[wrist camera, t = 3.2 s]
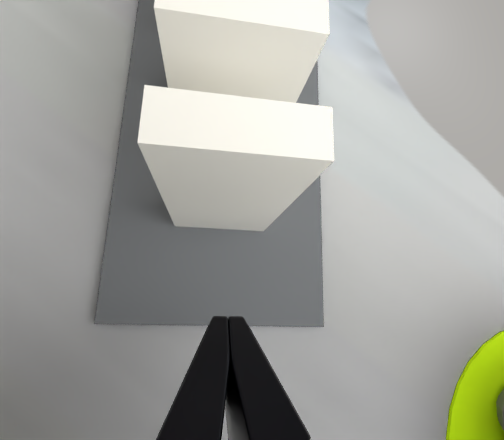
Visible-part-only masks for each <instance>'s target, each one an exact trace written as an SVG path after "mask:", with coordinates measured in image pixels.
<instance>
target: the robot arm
mask: <svg viewBox="0 0 504 440" xmlns="http://www.w3.org/2000/svg"><path fill="white" fill-rule="evenodd" d="M224 410H226V420H227V431H228V440H310V438H311V437H310V435H309V433H308V431H307V429H306V428H305V426H304V424H303V422H302V420H301V419H300V417H299V415H298V413H297V411H296V410H295V408H294V406H293V404H292V402H291V401H290V399H289V397H288V395H287V394H286V392H285V390H284V388H283V386H282V385H281V383H280V381H279V379H278V377H277V376H276V374H275V372H274V370H273V368H272V367H271V365H270V363H269V361H268V359H267V358H266V356H265V354H264V352H263V351H262V349H261V347H260V345H259V343H258V342H257V340H256V338H255V336H254V334H253V333H252V331H251V329H250V327H249V325H248V324H247V322H246V320H245V319H244V317H242V316H229V317H227V316H213V317H212V319H211V321H210V323H209V325H208V327H207V330H206V332H205V334H204V336H203V338H202V340H201V343H200V345H199V347H198V349H197V351H196V354H195V356H194V358H193V360H192V362H191V364H190V367H189V369H188V371H187V373H186V375H185V377H184V380H183V382H182V384H181V386H180V388H179V390H178V393H177V395H176V397H175V399H174V401H173V404H172V406H171V408H170V410H169V412H168V414H167V417H166V419H165V421H164V423H163V425H162V427H161V430H160V432H159V434H158V436H157V438H156V440H221V437H222V428H223V419H224Z"/></svg>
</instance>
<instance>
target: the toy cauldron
mask: <svg viewBox="0 0 504 440" xmlns="http://www.w3.org/2000/svg"><path fill="white" fill-rule="evenodd" d="M446 440H504V331H502V332H499V333H498V334H496V335H495V336H494V337H492V338H491V339H490V340H488V341H487V342H486V343H484V344H483V345H482V346H481V347H480V348H479V349H478V351H477V352H476V353H475V354H474V356H473V357H472V358H471V359H470V360H469V362H468V363H467V365H466V367H465V369H464V371H463V373H462V375H461V377H460V379H459V381H458V382H457V385H456V388H455V392H454V395H453V398H452V402H451V405H450V409H449V417H448V425H447V434H446Z"/></svg>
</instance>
